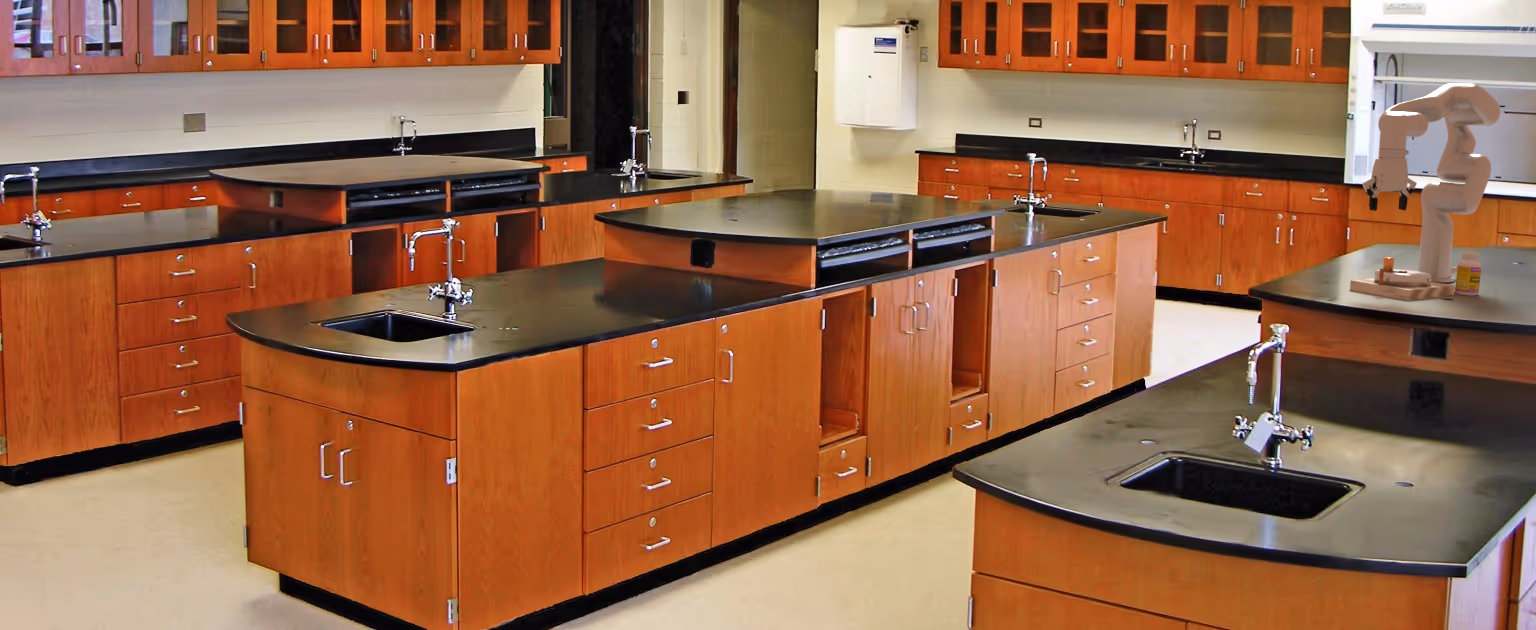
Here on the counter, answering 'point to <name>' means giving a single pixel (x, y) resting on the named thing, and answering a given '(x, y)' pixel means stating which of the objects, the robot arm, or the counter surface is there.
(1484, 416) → the counter surface
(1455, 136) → the robot arm
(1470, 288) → the supplement bottle
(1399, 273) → the dial
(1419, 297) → the dial base
